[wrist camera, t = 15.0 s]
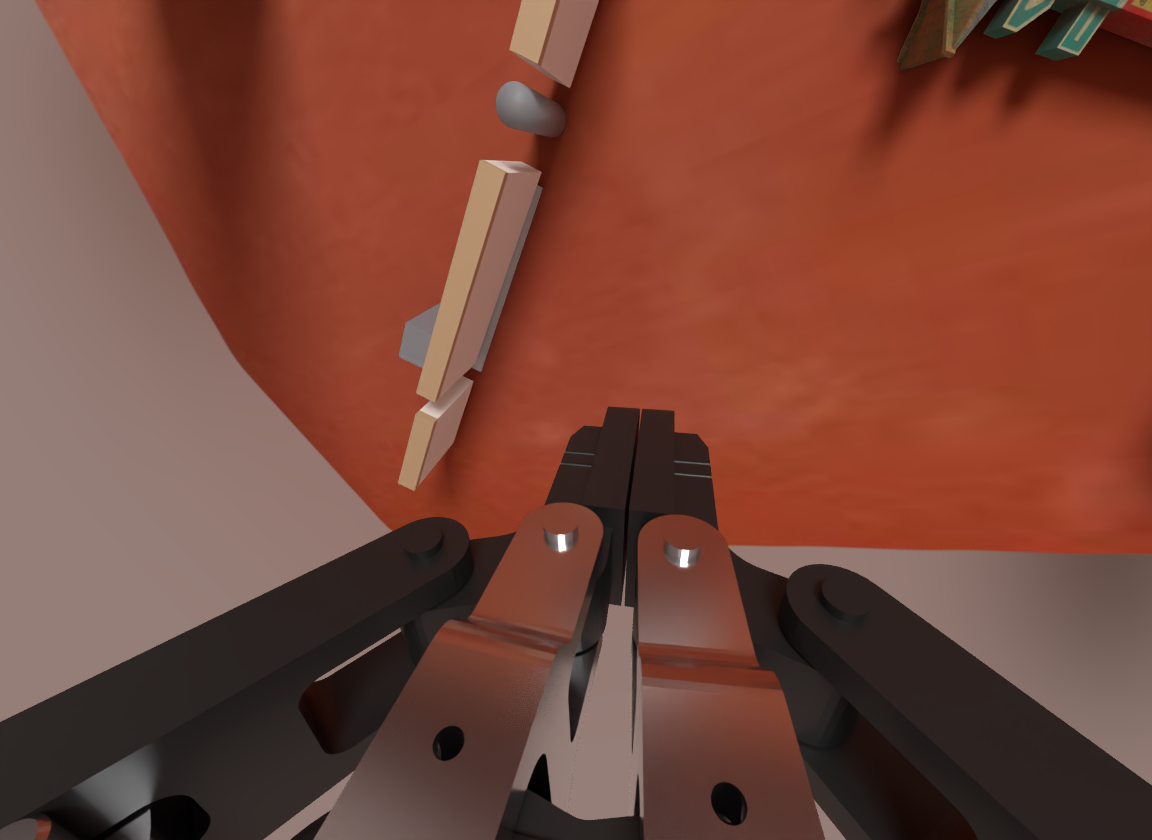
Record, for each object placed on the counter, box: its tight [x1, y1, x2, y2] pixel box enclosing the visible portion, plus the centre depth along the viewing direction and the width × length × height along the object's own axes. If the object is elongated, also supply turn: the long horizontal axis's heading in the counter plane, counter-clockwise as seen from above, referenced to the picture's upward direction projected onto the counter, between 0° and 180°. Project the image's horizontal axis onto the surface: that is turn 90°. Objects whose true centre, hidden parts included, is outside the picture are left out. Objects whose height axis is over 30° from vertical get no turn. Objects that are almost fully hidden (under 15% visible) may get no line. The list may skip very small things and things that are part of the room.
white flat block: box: [416, 160, 542, 402], centre depth 31 cm, size 16×2×8 cm, turn 156°
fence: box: [398, 0, 599, 491], centre depth 30 cm, size 5×39×9 cm, turn 157°
